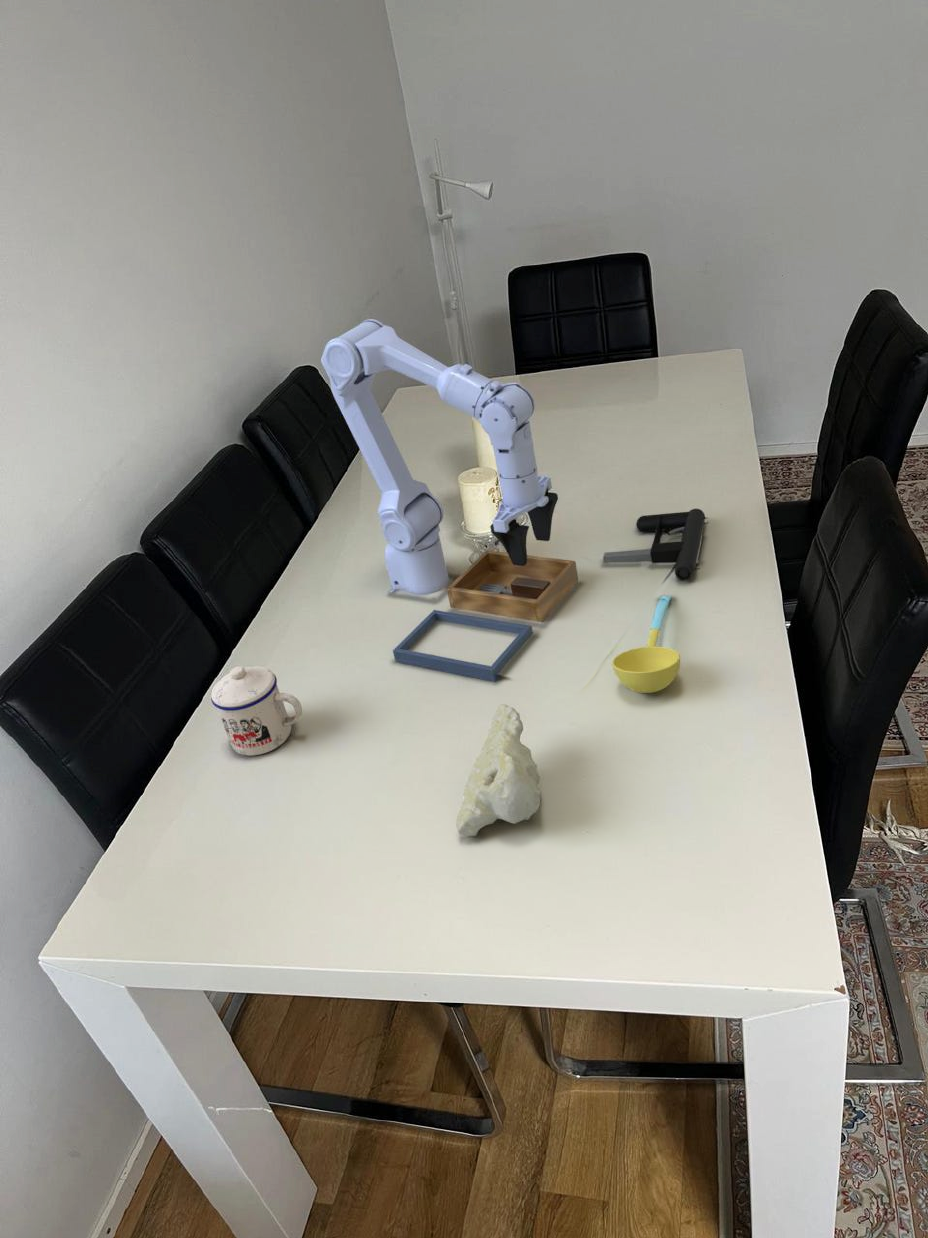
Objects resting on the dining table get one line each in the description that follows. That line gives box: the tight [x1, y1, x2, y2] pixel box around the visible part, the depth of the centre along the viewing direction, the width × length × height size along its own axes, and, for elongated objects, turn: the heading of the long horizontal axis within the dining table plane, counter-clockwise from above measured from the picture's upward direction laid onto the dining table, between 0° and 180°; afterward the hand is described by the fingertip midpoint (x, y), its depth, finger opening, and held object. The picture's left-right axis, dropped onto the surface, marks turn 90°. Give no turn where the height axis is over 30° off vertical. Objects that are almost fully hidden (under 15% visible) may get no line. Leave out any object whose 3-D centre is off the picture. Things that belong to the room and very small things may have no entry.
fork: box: [477, 577, 550, 600], centre depth 155 cm, size 13×2×3 cm, turn 59°
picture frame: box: [392, 609, 534, 683], centre depth 146 cm, size 18×12×2 cm, turn 59°
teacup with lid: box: [210, 665, 303, 756], centre depth 134 cm, size 12×9×12 cm
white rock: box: [455, 703, 541, 838], centre depth 116 cm, size 15×7×15 cm
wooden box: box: [446, 550, 579, 624], centre depth 155 cm, size 17×13×4 cm
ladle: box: [612, 595, 681, 694], centre depth 137 cm, size 9×26×6 cm, turn 165°
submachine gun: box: [602, 508, 708, 582], centre depth 159 cm, size 3×20×16 cm
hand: (531, 551), depth 149 cm, fingers open, 7 cm apart
